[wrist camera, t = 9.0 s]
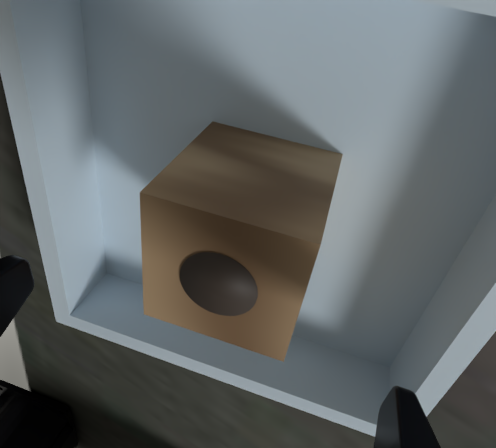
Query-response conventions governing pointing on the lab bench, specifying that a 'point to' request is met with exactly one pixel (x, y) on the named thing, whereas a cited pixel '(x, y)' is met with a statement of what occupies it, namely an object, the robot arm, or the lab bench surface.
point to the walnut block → (235, 235)
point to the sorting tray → (285, 127)
